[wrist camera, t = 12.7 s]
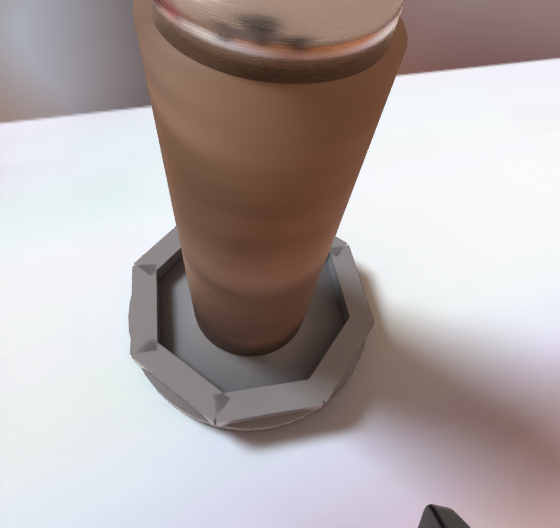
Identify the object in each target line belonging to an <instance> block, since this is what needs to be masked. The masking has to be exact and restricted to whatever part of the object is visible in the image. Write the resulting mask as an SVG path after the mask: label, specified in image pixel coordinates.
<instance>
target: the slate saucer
mask: <svg viewBox="0 0 560 528" xmlns="http://www.w3.org/2000/svg"><path fill="white" fill-rule="evenodd" d="M346 245H347V243H346V242H344V241H342V240H341V239H339V238H337V237H336V236H335V238H334V240H333V243H332V246H331V248H330V251H329V254H328V256H327V259H326V262H325V264H324V267H323V269H322V272H321V275H320V277H319V280H318V283H317V285H316V288H315V291H314V293H313V296H312V298H311V301H310V304H309V306H308V309H307V312H306V314H305V317H304V320H303V322H302V325H301V327H300V329H299V331H298V332H297V334H296V335H295V336H294V338H293V339H292V340H291V341H290V342H289V343H287V344H286V345H285V346H283V347H282V348H280V349H278V350H276V351H274V352H272V353H269V354H265V355H261V356H239V355H235V354H231V353H228V352H226V351H224V350H222V349H220V348H218V347H216V346H215V345H214V344H213V343H211V342H210V341H209V340H208V339H207V338H206V337H205V335H204V334H203V333H202V331H201V330H200V328H199V326H198V324H197V321H196V318H195V313H194V309H193V304H192V299H191V294H190V289H189V284H188V279H187V275H186V270H185V265H184V260H183V255H182V250H181V245H180V241H179V236H178V231H177V226H176V227H175V228H174V229H173V230H171V231H170V232H169V233H168V234H167V235H166V236H165V237H163V238H162V239H161V240H160V241H159V242H158V243H157V244H156V245H154V246H153V247H152V248H151V249H150V250H149V251H148V252H146V253H145V254H144V255H143V256H142V257H141V258H140V259H139V260H137V261H136V262H135V263H134V265H135V266H133V269H132V296H131V300H130V307H129V333H130V338H131V347H130V354H131V356H132V358H133V360H134V361H135V362H136V364H138V365H139V366H140V367H141V368H142V370H143V371H144V373H145V375H146V376H147V378H148V379H149V381H150V382H151V383H152V385H153V386H154V387H155V388H156V390H157V391H158V392H159V393H160V394H161V395H162V396H163V397H164V398H165V399H166V400H167V401H168V402H169V403H170V404H171V405H172V406H174V407H175V408H177V409H178V410H180V411H181V412H182V413H184V414H185V415H187V416H189V417H191V418H193V419H195V420H197V421H199V422H202V423H205V424H208V425H211V426H214V427H217V428H223V429H228V430H234V431H259V430H268V429H273V428H277V427H281V426H285V425H288V424H290V423H293V422H295V421H297V420H300V419H302V418H304V417H306V416H307V415H309V414H311V413H312V412H314V411H316V410H317V409H320V408H321V407H323V406H324V405H325V404H326V402H327V401H328V400H329V399H330V398H331V397H332V396H333V395H334V394H335V393H336V392H337V391H338V390H339V389H340V388H341V387H342V385H343V384H344V383H345V382H346V380H347V379H348V377H349V376H350V374H351V373H352V372H353V370H354V368H355V366H356V364H357V362H358V360H359V358H360V355H361V352H362V349H363V345H364V341H365V338H366V336H367V334H368V333H369V331H370V329H371V328H372V326H373V322H374V320H373V317H372V314H371V311H370V308H369V305H368V302H367V299H366V296H365V292H364V289H363V286H362V283H361V280H360V277H359V274H358V271H357V268H356V265H355V262H354V259H353V256H352V253H351V250H350V247H349V245H348V246H346Z"/></svg>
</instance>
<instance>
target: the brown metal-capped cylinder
mask: <svg viewBox="0 0 560 528" xmlns="http://www.w3.org/2000/svg"><path fill="white" fill-rule="evenodd" d="M404 2H405V0H135V1H134V4H133V16H134V21H135V27H136V32H137V36H138V41H139V46H140V51H141V56H142V61H143V66H144V70H145V75H146V80H147V85H148V90H149V95H150V100H151V104H152V109H153V114H154V119H155V124H156V129H157V134H158V138H159V143H160V148H161V153H162V158H163V163H164V168H165V173H166V177H167V182H168V187H169V192H170V197H171V202H172V207H173V211H174V216H175V221H176V226H177V231H178V236H179V241H180V245H181V250H182V255H183V260H184V265H185V270H186V275H187V279H188V284H189V289H190V294H191V299H192V304H193V309H194V313H195V318H196V321H197V324H198V326H199V328H200V330H201V331H202V333H203V334H204V335H205V337H206V338H207V339H208V340H209V341H210V342H211V343H213V344H214V345H215V346H216V347H218V348H220V349H222V350H224V351H226V352H228V353H231V354H235V355H239V356H261V355H265V354H269V353H272V352H274V351H276V350H278V349H280V348H282V347H283V346H285V345H286V344H287V343H289V342H290V341H291V340H292V339H293V338H294V336H295V335H296V334H297V332H298V331H299V329H300V327H301V325H302V322H303V320H304V317H305V314H306V312H307V309H308V306H309V304H310V301H311V298H312V296H313V293H314V291H315V288H316V285H317V283H318V280H319V277H320V275H321V272H322V269H323V267H324V264H325V262H326V259H327V256H328V254H329V251H330V248H331V246H332V243H333V240H334V238H335V235H336V233H337V230H338V227H339V225H340V222H341V219H342V217H343V214H344V211H345V209H346V206H347V204H348V201H349V198H350V196H351V193H352V190H353V188H354V185H355V182H356V180H357V177H358V175H359V172H360V169H361V167H362V164H363V161H364V159H365V156H366V153H367V151H368V148H369V146H370V143H371V140H372V138H373V135H374V132H375V130H376V127H377V124H378V122H379V119H380V117H381V114H382V111H383V109H384V106H385V103H386V101H387V98H388V95H389V93H390V90H391V88H392V85H393V82H394V80H395V77H396V74H397V72H398V69H399V66H400V64H401V61H402V58H403V56H404V53H405V51H406V48H407V33H406V29H405V26H404V24H403V21H402V20H401V18H400V14H401V11H402V7H403V5H404Z"/></svg>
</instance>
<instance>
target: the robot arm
mask: <svg viewBox="0 0 560 528" xmlns="http://www.w3.org/2000/svg"><path fill="white" fill-rule="evenodd" d="M418 528H470V527H469V526H468V525H467V524H466V523H465V522H464V520H463V519H462V518H461V517H460V516H459V515H458V514H457V513H456V512H455V511H453V510H452V509H450V508H447V507H442V506H438V505H434V504H430V505H427V506H426V507H425V509H424V512H423V515H422V517H421V520H420V523H419V526H418Z"/></svg>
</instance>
